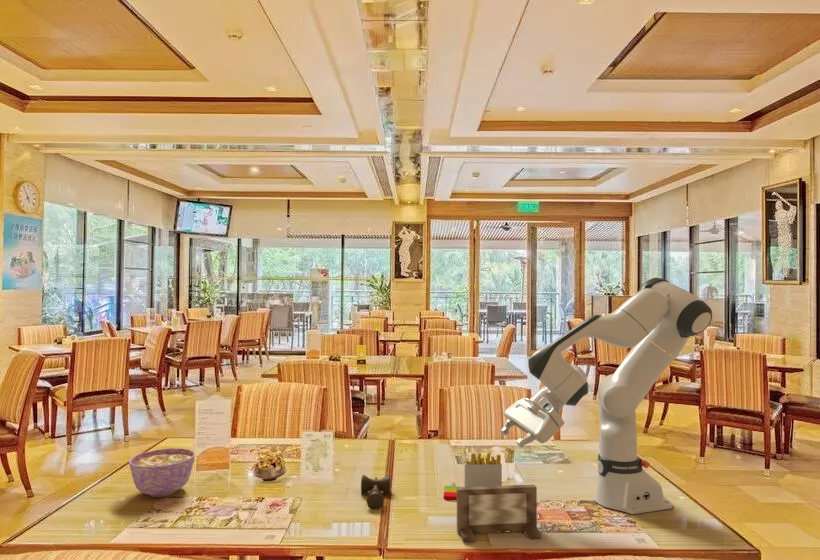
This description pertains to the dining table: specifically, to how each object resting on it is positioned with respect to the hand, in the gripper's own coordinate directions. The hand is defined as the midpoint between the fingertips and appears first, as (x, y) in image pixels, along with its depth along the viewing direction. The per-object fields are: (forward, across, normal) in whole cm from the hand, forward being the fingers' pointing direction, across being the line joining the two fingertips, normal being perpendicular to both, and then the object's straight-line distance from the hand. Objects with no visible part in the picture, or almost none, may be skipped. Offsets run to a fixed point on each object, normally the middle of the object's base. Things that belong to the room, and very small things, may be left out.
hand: (510, 439), depth 163 cm
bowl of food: (+94, -50, -43) cm, 115 cm away
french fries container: (+20, -1, +12) cm, 24 cm away
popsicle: (+23, -19, +13) cm, 33 cm away
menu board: (+21, +14, +9) cm, 27 cm away
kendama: (+43, -23, -3) cm, 48 cm away
